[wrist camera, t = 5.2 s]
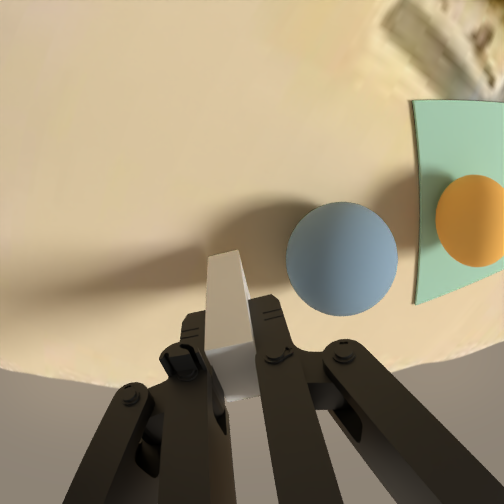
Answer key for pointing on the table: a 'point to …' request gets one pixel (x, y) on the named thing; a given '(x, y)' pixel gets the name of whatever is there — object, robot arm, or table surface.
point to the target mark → (445, 172)
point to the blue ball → (341, 259)
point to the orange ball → (472, 220)
